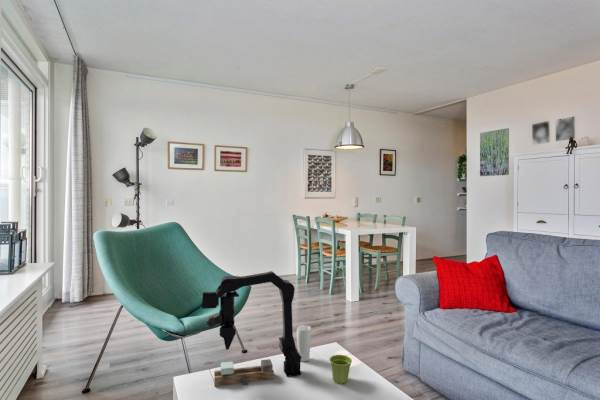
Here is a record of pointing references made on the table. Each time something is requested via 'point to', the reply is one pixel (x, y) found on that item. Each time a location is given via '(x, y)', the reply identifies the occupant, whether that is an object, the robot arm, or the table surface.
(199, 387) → the table surface
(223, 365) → the block
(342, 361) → the plant pot
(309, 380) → the table surface
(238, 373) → the beam
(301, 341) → the drinking glass
